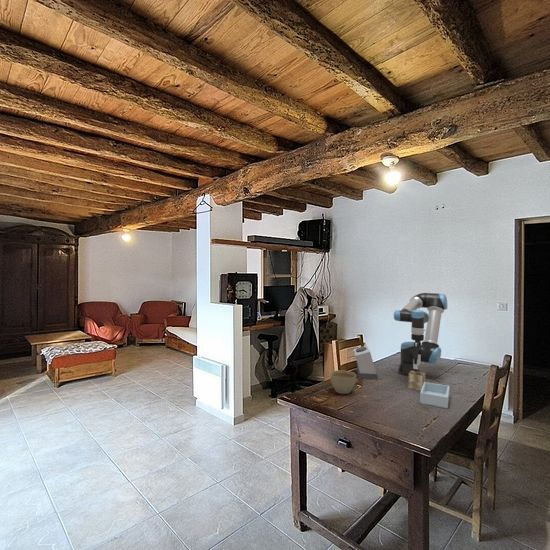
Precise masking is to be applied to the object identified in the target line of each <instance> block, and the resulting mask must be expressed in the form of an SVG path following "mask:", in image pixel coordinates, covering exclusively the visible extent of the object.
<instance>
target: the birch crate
mask: <svg viewBox="0 0 550 550" xmlns="http://www.w3.org/2000/svg"><path fill="white" fill-rule="evenodd" d="M424 382H426V372H421V371H420V372H415V371H410V373H409V376H408V386H407V387H408V389H411V390H412V389H413V390H419V391H421V389H422V387H423V384H424Z"/></svg>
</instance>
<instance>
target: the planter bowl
mask: <svg viewBox="0 0 550 550" xmlns="http://www.w3.org/2000/svg"><path fill="white" fill-rule="evenodd" d="M329 378H330V382H331V383H330V384H332V386H333V388H334V390H335V392H336V393H338V394H344V395H345V394H346V395H347V394H350V393H351V392H352V390H353V388H354V386H355V384H356V378H357V373H355V372H353V371H348V370H333V371H331V372H330V373H329Z"/></svg>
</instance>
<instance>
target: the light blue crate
mask: <svg viewBox="0 0 550 550" xmlns="http://www.w3.org/2000/svg"><path fill="white" fill-rule="evenodd" d="M449 399H450V385H447V384H440V383H433V382H426V381H425V382H424V384H423V387H422V389H421V390H420V393H419V404H423V405H428V406H433V407H438V408H443V409H444V408H445V409H448V407H449Z"/></svg>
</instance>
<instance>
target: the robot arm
mask: <svg viewBox="0 0 550 550" xmlns="http://www.w3.org/2000/svg"><path fill="white" fill-rule="evenodd" d="M420 308H422V309H423V308H425V309H426V310H427V311H428V312H426V311H424V310H422V309H420ZM447 309H448V299H447V295H446V294H444V293H439V292H438V293H436V292H435V293H434V292H421V293H418V294H415V295H413V296H412V297H411V298H410V299H409V302H408V303H407V304H406V305H405V306H403V307H402V309H401V310H399V309H397V310H396V309H395V311H394V312H393V319H394V321H396V322H405V323H411V330H410V331H411V335H410V336H411V337H410V338H411V340H412V341H404V342H402V343H401V344H400V362H399V365H398V369H397V373H398V374H399V375H402V376H406V377H409V373H410V371H415V372H421V371H420V368H419V365H421V362H423V363H428V364H437V363H439V361H440V360H441V357H442V348H441V347H440V345H439V343H438V340H439V333H440V328H441V327H440V326H441V320H442V314H443V313H444V312H445V310H447ZM425 324H426V328H425Z"/></svg>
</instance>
